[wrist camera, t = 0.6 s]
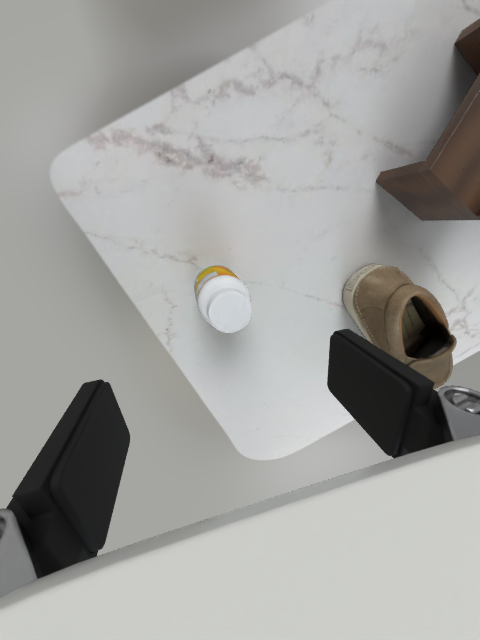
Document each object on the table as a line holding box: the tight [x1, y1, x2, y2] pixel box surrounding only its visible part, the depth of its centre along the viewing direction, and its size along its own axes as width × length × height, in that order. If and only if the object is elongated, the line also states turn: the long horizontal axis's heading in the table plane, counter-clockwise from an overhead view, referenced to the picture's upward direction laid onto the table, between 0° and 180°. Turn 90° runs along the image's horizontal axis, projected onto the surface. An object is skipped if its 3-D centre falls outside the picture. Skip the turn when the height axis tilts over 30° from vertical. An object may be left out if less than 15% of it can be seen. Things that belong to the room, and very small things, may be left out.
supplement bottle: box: [194, 265, 252, 333], centre depth 25 cm, size 5×5×10 cm
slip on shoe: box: [343, 264, 457, 389], centre depth 35 cm, size 30×11×9 cm, turn 41°
